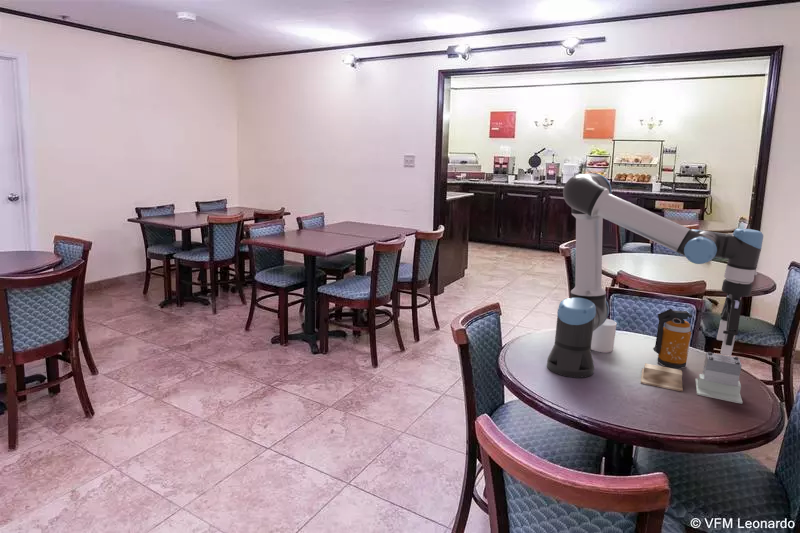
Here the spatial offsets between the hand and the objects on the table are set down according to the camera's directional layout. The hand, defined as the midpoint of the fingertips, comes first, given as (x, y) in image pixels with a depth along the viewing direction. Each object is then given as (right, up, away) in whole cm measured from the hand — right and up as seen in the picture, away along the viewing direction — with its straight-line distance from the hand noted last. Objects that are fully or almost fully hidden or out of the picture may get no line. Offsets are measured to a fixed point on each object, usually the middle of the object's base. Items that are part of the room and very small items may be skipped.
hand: (723, 347), depth 166 cm
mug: (-23, -6, +37) cm, 44 cm away
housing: (0, -10, +2) cm, 11 cm away
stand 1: (-14, -12, +10) cm, 21 cm away
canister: (-6, -10, +23) cm, 26 cm away
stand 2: (0, -14, +3) cm, 15 cm away
